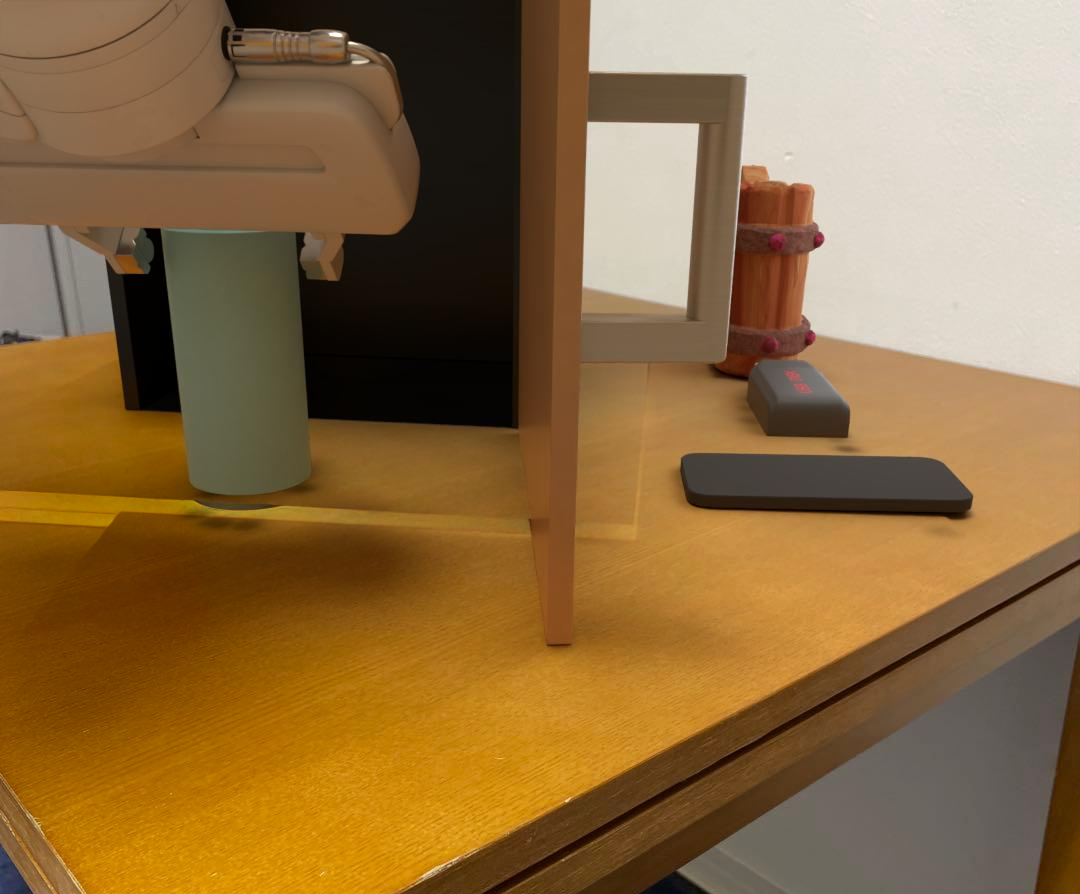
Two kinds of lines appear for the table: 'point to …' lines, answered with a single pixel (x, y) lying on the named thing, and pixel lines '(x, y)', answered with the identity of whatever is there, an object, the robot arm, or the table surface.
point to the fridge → (396, 235)
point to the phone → (822, 482)
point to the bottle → (239, 360)
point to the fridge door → (558, 248)
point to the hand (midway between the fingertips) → (231, 265)
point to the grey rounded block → (796, 400)
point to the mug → (770, 272)
